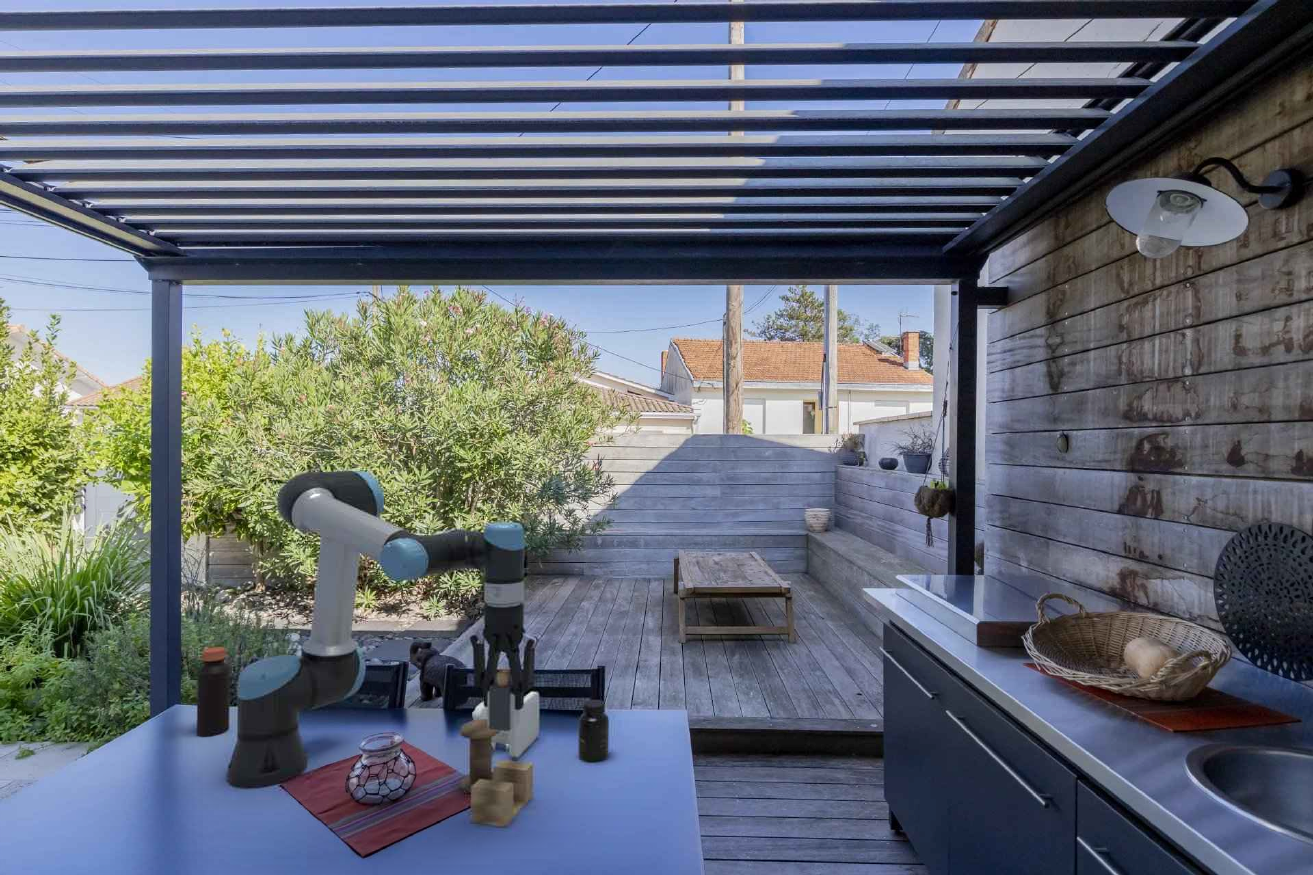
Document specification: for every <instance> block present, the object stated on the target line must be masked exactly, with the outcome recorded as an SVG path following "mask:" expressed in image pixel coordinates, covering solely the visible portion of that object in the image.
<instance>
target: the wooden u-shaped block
mask: <svg viewBox="0 0 1313 875" xmlns="http://www.w3.org/2000/svg"><path fill="white" fill-rule="evenodd" d="M492 772H493V781H492V780H484V779H479V780H478V781H477V782H476V783H475V784H474V785H473V786H471V794H470V823H472V824H479V825H487V826H493V827H500V828H507V826H508V825H509V824H510V823H511V822H512V821H513V819H514V818H516V816H518V814H519V813H520V812H521V811H520V810H523V809H524V807H525V806H526V805H527V804H528V803H529V802H528V801H531V799H532V798H534V797H533V794H534V792H533V789H534V788H533V787H534V785H533V784H534V782H533V779H534V778H533V776H534V773H533V772H534V763H532V762H531V763H530V762H523V761H515V760H506V759H500V760H499V761H498V762H497V763H496V764H494V765H492ZM527 802H528V803H527ZM526 803H527V804H526ZM525 804H526V805H525ZM524 805H525V806H524Z"/></svg>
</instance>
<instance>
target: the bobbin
mask: <svg viewBox="0 0 1313 875" xmlns="http://www.w3.org/2000/svg"><path fill="white" fill-rule="evenodd" d="M500 731H501V730H494V729H489V726H487V719H480V720H474V721H473V720H471V721H468V722H465V723H463V724H462V725H461V727H460V735H461V737H463V738H466V739H469V774H467V775H465V776H464V777H462V778H461V780H460V790H461V791H462V790H463V791H465V792H468V793H471V786H473V785H474V784H475V783H476V782H477V781H478V780H479V779H484V780H492V781H493V765H492V760H493V759H492V757H493V756H492V751H493V747H492V736H495V735H497V734H498V733H499V732H500ZM463 791H462V792H463ZM465 792H464V793H465ZM468 793H467V794H468Z"/></svg>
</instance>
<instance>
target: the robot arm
mask: <svg viewBox="0 0 1313 875" xmlns="http://www.w3.org/2000/svg"><path fill="white" fill-rule="evenodd" d="M384 497H385V496H384V492H383V488H382V486H381V484H379V481H378V479H377V478H376V477H375V476H374V475H372V474H371V473H369V472H367V471H363V470H362V471H358V470H339V471H338V470H337V471H335V470H334V471H333V470H332V471H319V472H318V471H316V472H315V471H310V472H309V471H308V472H304V473H301V474H300V473H299V474H297V475H295V476H293V477H291V478H290V479H289V480H287V481H286V482H285V483H284V485H283V486H282V487H281V488H280V491H279V493H278V495H277V501H276V504H277V506H276V507H277V510H278V513H279V516H280V517H281V518H282V520H283V521H284V522H286V524H288V525H289V526H290V527H292V528H294V529H297V530H299V532H302V533H307V534H308V533H309V534H310V533H317V534H318V535H319V536H320V545H319V552H318V553H319V554H318V562H317V563H318V564H317V571H316V572H317V573H316V579H315V580H316V583H315V591H314V600H313V611H312V612H313V613H312V619H311V629H310V637H309V638H308V639H307V640H306V641H305V642H303V644H302V645H301V646H302V647H301V652H300V653H301V654H300V658H299V657H298V656H296V655H294V654H278V655H276V656H269V657H265V658H262V659H259V660H256V661H253V662H252V663H250V664H249V665H247V666H246V667H244V668H243V670H242V671H241V672H240V674H239V675H238V682H237V689H236V697H237V723H236V724H237V726H236V727H237V732H236V735H237V736H236V737H237V738H236V744H235V746H234V749H233V752H232V756H231V759H230V762H229V763H228V765H227V769H226V772H227V773H226V774H227V776H226V781H227V783H228V784H230V785H231V786H234V787H237V788H249V789H250V788H261V787H267V786H268V787H269V786H273V785H276V784H280V783H283V782H286V781H288V780H291V779H293V778H294V777H295V778H296V777H297V776H298V775H300V774H302V773H303V772H304V771H305V770H306V768H307V767H308V752H307V750H306V749H305V748H304V744H303V740H302V737H301V736H302V735H301V733H300V730H299V728H300V727H299V724H300V723H299V722H300V721H299V719H300V714H302V713H305V712H309V711H311V710H315V709H317V708H321V707H323V706H326V705H329V704H332V703H338V702H340V701H342V700H344V699H346V698H348V697H351V696H352V695H354V694H355V693H357V692H358V691H359V690H360V688H361V686H362V684H363V682H364V679H365V675H366V670H367V668H366V660H364V655H363V652H362V650H360V648H358V644H357V642H356V641H355V640H354V639H353V638H352V631H353V630H352V629H353V623H354V622H353V620H354V612H355V603H356V594H357V585H358V584H357V583H358V576H359V575H358V574H359V568H360V557H361V555H363V556H364V557H367V558H369V559H372V561H373V560H374V561H375V562H377V563H379V564H380V568H381V570H382V572H383V573H384V574H385V577H386V578H388V579H389V580H392V581H394V582H400V581H414V580H416V579H421V578H424V577H430V576H435V575H440V574H445V573H450V572H455V571H461V570H477V571H483V572H484V573H483V574H484V578H483V579H484V585H483V586H484V590H483V591H484V593H483V594H484V598H483V599H484V601H483V602H485V604H484V607H483V612H484V613H483V615H484V616H483V621H484V622H483V624H484V626H483V627H484V628H483V629H482V632H476V633H475V634H473V635H471V636H470V637H469V641H470V643H471V646H472V652H473V653H472V658H473V660H472V661H473V685H474V686H475V687H476V688H478V687H479V688H481V689H482V690H483V701H484V707H487V726H489V687H490V686H491V685H493V684H494V683H496V682H495V681H496V678H497V671H498V665H499V661H500V656H501V653H503V654H504V653H505V657H506V659H507V661H508V667H509V670H510V673H511V681H512V684H513V689H514V691H513V692H512V693H511V694H510V728H512V729H514V728H515V727H516V726H517V725H518V724H520V709H522V708H523V706H524V697H525V692H528V690H530V689H531V688H532V687H534V683H535V682H534V680H535V677H534V676H535V658H536V656H535V655H536V652H535V651H536V647H537V644H538V642H539V638H538V637H537V636H530V635H529V634H527V633H526V630H525V628H524V620H525V616H524V614H525V608H524V607H525V606H524V603H523V601H524V599H525V586H524V582H525V581H524V578H525V577H524V571H525V570H524V563H525V546H526V544H525V533H524V528H523V525H522V524H520V523H519V522H514V521H513V522H512V521H509V522H505V521H502V522H501V521H500V522H498V521H497V522H490V523H487V524H486V525H485V526H484V531H476V530H466V529H463V528H459V529H447V530H445V531H443V532H442V533H438V534H437V533H435V534H430V535H429V534H428V535H418V534H415V533H414V532H411V531H409V530H407V529H405V528H402V527H400V526H397V525H395V524H393V523H391V522H390V521H389V522H388V521H386V520H384V519H382V518H380V515H381V514H382V513H383V511H384V505H385V498H384ZM485 641H486V643H487V644H488V651H487V656H488V657H487V664H486V652H485V651H486V650H485V649H486V648H485ZM522 642H523V647H524V650H523V664H521V656H520V654H521V652H520V644H521V643H522ZM522 665H523V668H522Z"/></svg>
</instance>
